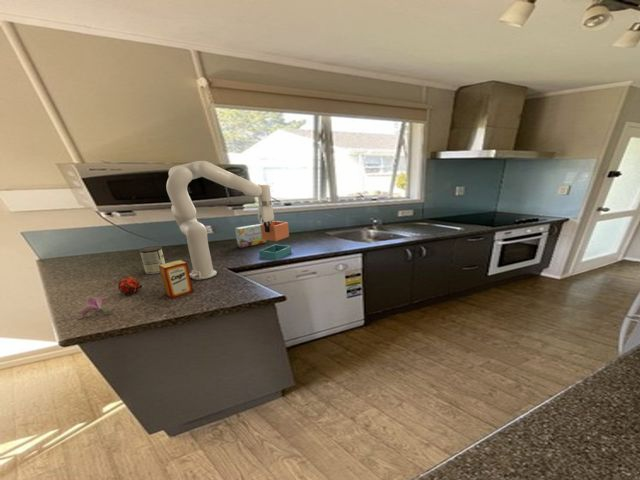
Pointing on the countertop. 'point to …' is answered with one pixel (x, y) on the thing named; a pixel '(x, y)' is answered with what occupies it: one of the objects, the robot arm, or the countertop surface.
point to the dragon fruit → (129, 285)
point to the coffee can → (152, 259)
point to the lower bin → (275, 252)
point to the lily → (93, 304)
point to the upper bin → (275, 231)
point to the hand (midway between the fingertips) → (268, 231)
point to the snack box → (249, 235)
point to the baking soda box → (176, 278)
